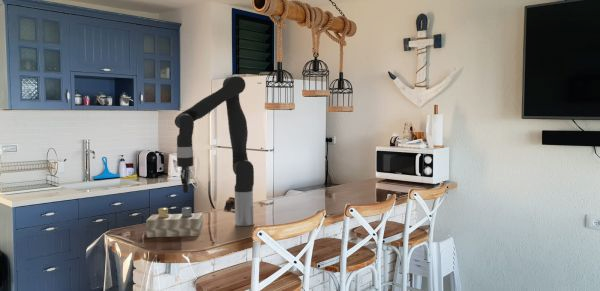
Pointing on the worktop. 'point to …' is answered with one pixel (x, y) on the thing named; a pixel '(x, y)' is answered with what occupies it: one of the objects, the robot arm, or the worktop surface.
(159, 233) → the ash socket block
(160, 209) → the brass peg
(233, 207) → the pottery mug
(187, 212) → the steel peg
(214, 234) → the worktop surface
